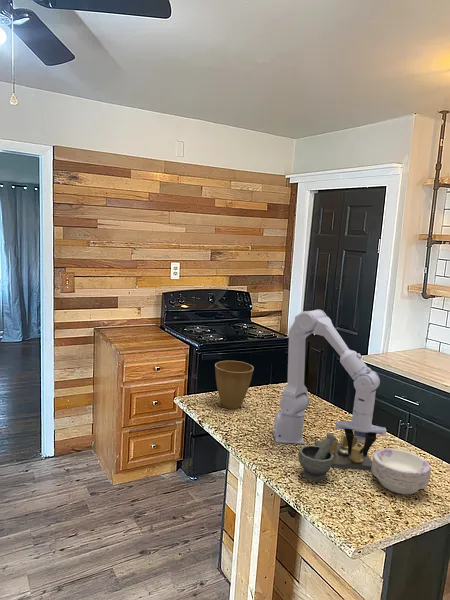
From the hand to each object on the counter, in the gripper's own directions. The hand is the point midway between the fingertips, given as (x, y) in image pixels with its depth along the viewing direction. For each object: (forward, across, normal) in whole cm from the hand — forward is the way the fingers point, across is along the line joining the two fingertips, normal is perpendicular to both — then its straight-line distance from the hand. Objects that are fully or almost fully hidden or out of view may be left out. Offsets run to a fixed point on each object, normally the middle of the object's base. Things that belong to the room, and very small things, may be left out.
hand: (357, 454), depth 142 cm
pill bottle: (+3, -4, -19) cm, 20 cm away
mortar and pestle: (+3, +12, +11) cm, 17 cm away
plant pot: (+3, +43, -33) cm, 55 cm away
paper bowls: (+3, -10, +9) cm, 14 cm away
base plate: (+3, +3, -4) cm, 6 cm away
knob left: (+2, +8, -3) cm, 9 cm away
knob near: (+2, 0, 0) cm, 2 cm away
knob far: (+2, +2, -9) cm, 9 cm away
